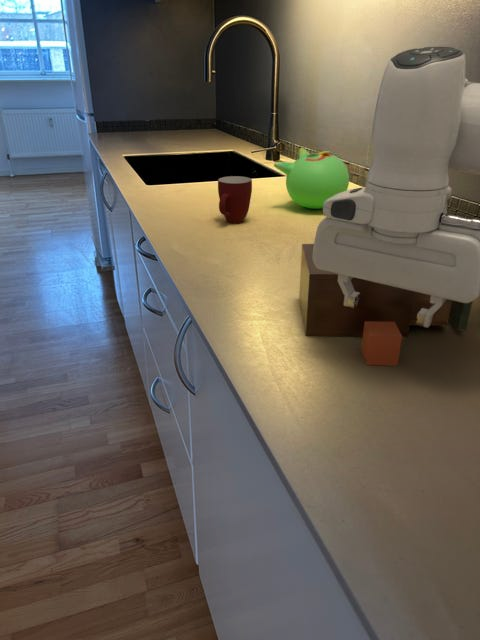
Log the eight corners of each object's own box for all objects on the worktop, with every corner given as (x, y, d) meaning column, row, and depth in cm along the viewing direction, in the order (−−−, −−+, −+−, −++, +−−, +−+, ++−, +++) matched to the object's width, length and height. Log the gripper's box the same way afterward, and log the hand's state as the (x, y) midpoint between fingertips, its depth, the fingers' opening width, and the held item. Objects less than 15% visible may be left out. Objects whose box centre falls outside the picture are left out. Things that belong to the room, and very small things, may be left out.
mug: (240, 230, 118) (240, 187, 114) (209, 226, 121) (207, 184, 116) (256, 218, 127) (256, 177, 122) (226, 215, 130) (225, 175, 125)
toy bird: (331, 219, 126) (336, 157, 119) (270, 210, 134) (271, 152, 127) (355, 203, 140) (360, 147, 133) (298, 195, 147) (301, 142, 141)
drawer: (470, 297, 83) (481, 251, 80) (500, 330, 73) (514, 280, 69) (357, 296, 84) (362, 250, 80) (371, 329, 73) (377, 279, 70)
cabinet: (387, 299, 84) (395, 244, 80) (407, 337, 73) (418, 274, 69) (299, 299, 85) (302, 243, 80) (305, 335, 74) (309, 273, 69)
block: (390, 350, 70) (394, 321, 68) (397, 365, 66) (402, 336, 64) (361, 349, 70) (364, 321, 68) (366, 365, 67) (370, 335, 65)
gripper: (505, 215, 56) (477, 327, 62) (333, 190, 66) (324, 288, 72) (495, 230, 51) (466, 349, 57) (311, 200, 61) (303, 304, 67)
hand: (385, 315), depth 65 cm, fingers open, 8 cm apart
